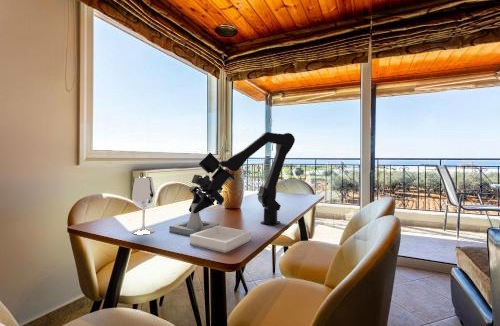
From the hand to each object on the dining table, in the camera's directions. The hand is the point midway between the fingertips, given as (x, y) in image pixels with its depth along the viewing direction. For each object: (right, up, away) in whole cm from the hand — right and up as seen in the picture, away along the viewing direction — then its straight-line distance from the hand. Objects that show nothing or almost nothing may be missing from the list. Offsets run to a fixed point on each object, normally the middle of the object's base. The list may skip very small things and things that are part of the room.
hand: (191, 212), depth 98 cm
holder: (+1, -7, +1) cm, 7 cm away
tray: (+12, -7, -13) cm, 19 cm away
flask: (+1, -7, +1) cm, 7 cm away
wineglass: (-17, -7, -2) cm, 19 cm away
